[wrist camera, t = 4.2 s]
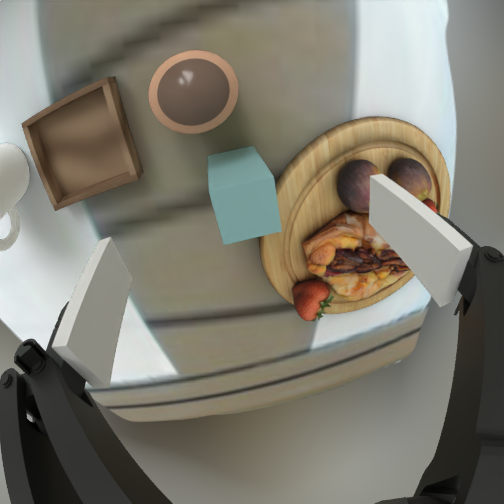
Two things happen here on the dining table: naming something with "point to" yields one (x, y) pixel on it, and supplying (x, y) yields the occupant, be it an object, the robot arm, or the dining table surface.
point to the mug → (12, 188)
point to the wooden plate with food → (347, 215)
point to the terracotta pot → (193, 92)
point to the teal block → (243, 195)
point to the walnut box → (83, 144)
